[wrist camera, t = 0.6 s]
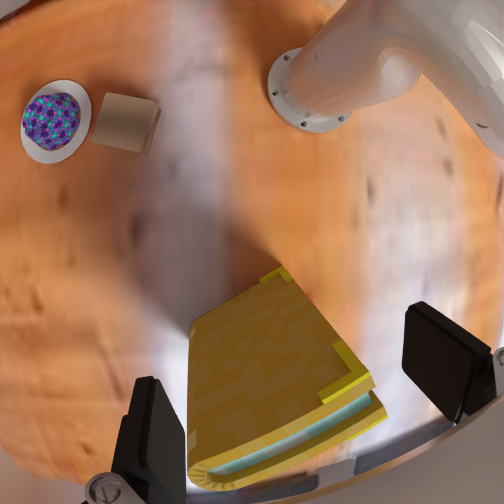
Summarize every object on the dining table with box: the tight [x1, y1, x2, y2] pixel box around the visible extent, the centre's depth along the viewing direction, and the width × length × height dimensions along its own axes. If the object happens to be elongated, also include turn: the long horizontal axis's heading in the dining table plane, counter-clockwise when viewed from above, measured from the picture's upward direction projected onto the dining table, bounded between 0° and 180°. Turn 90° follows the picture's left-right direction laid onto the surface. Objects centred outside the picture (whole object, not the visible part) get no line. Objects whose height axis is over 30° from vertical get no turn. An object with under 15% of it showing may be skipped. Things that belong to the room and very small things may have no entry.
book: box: [187, 265, 388, 491], centre depth 32 cm, size 17×7×25 cm, turn 119°
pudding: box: [20, 80, 92, 164], centre depth 30 cm, size 12×12×5 cm
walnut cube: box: [91, 92, 161, 155], centre depth 32 cm, size 6×6×6 cm
